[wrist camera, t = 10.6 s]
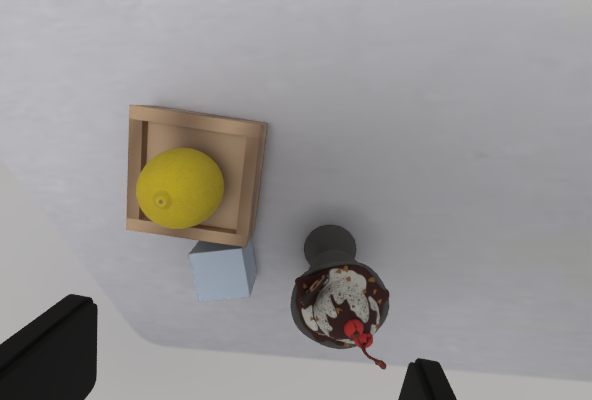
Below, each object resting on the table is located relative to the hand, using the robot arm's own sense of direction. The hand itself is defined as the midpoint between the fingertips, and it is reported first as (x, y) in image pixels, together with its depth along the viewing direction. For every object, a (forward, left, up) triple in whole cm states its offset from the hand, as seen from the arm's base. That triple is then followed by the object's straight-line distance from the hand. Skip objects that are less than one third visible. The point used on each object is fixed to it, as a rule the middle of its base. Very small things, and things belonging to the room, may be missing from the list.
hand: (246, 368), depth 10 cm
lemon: (+7, -1, -19) cm, 21 cm away
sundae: (-5, +5, -23) cm, 24 cm away
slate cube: (+5, +7, -23) cm, 24 cm away
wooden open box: (+8, -1, -23) cm, 24 cm away
